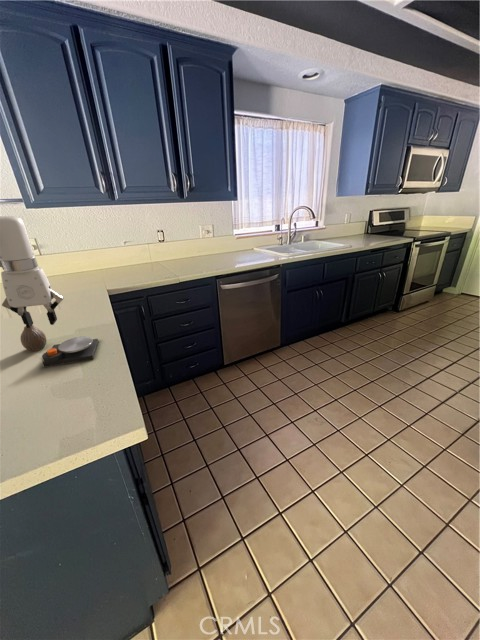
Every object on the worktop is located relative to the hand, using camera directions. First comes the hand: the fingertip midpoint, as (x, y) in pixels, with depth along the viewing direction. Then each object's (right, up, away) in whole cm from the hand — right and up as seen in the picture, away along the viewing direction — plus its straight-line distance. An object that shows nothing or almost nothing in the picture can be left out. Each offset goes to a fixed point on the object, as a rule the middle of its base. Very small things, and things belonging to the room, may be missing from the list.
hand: (41, 323), depth 80 cm
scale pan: (+5, -7, +9) cm, 13 cm away
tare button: (0, -10, +5) cm, 11 cm away
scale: (+3, -10, +10) cm, 15 cm away
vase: (-12, -9, +13) cm, 20 cm away
